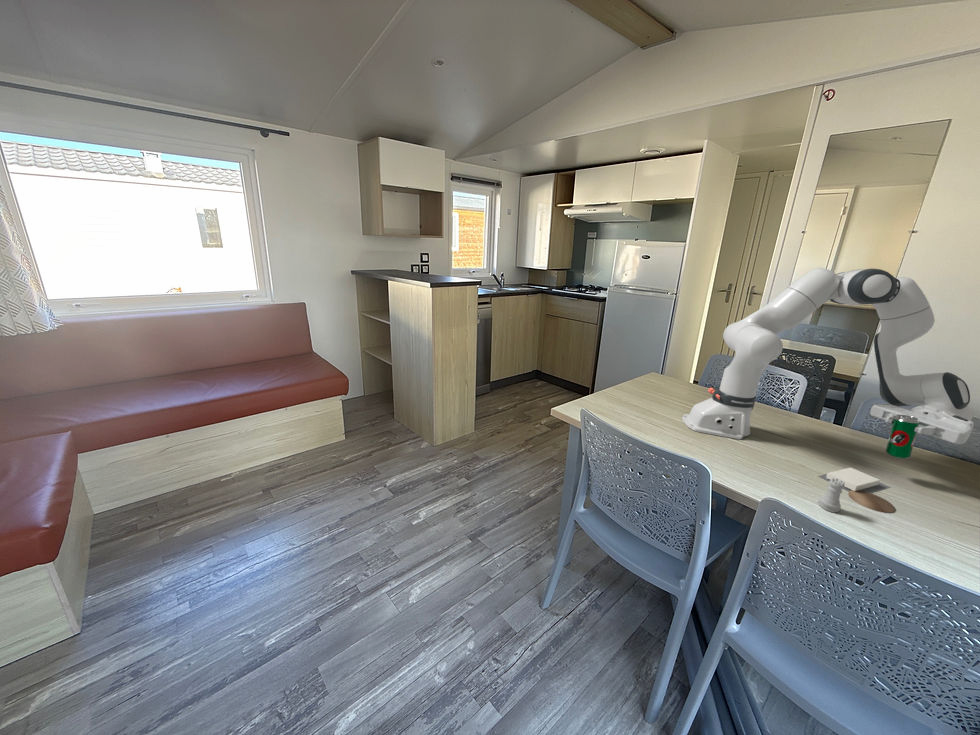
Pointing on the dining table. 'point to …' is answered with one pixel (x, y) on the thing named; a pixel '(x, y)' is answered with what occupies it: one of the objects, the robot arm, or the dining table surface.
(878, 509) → the coaster
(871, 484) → the glazed tile
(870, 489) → the rubber mat
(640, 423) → the dining table surface
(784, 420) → the dining table surface
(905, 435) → the soda can
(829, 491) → the rook chess piece
